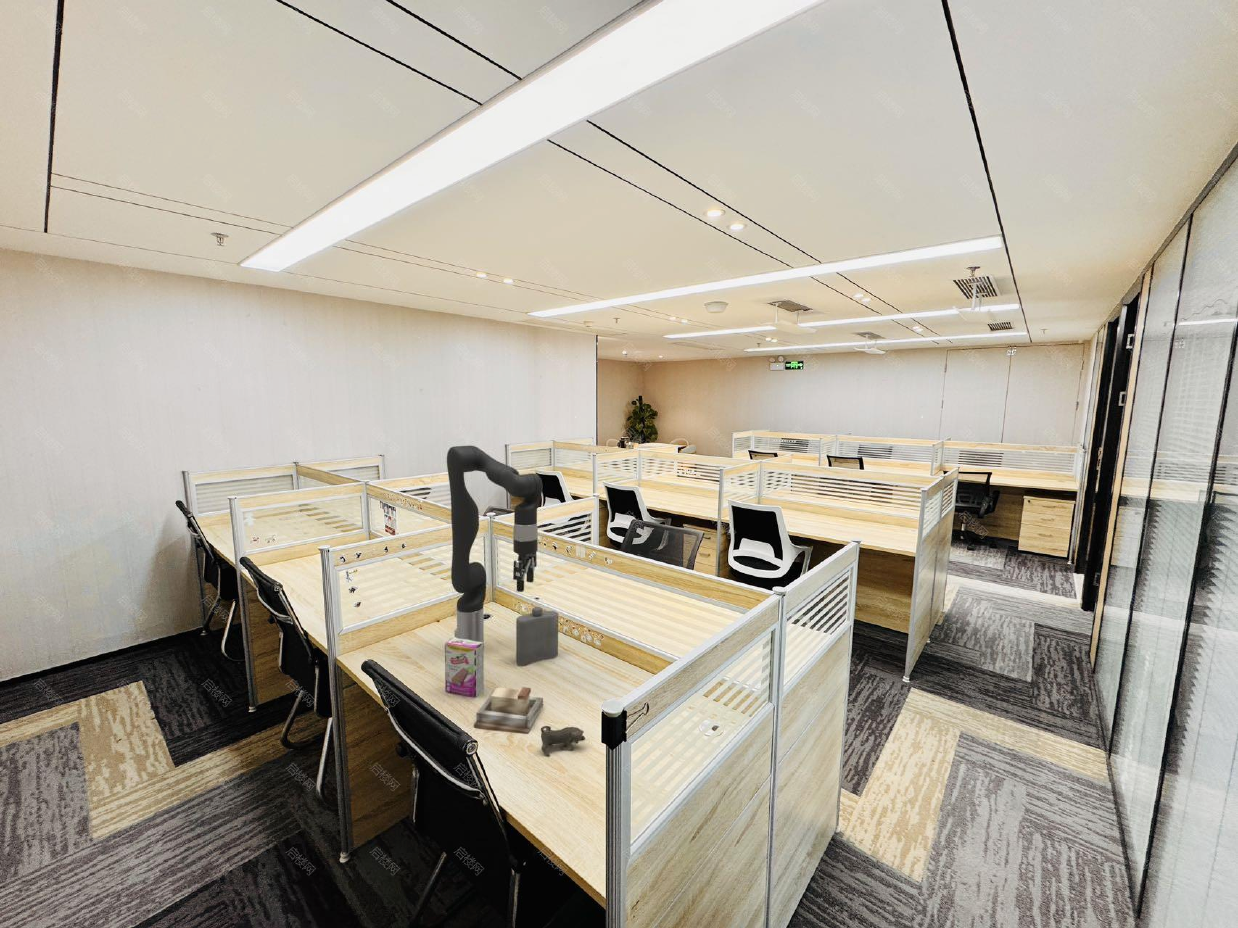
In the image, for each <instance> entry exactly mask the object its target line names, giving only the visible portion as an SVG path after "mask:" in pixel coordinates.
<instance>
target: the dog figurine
mask: <svg viewBox="0 0 1238 928" xmlns="http://www.w3.org/2000/svg"><path fill="white" fill-rule="evenodd" d="M540 732H541V734H540V739H541V744H542V745H541V751H542V752H543V754H544V755H545V756H546V757H547V758H549V757H551V754H550V753H549V752H548V747H549V746H551V745H552V746H553V745H560V744H561V745H562V744H563V746H561V747H560V749H561V750H562V751H564V752H565V751H566V752H573V751H574V749H575V748H574V746H573V744H572V742H573V743H575V744H577V745H578V744H579V741H580V740H585V739H586V737H585V736H584V735H583V734H584V730H583V729H580V728H578V727H576V726H567V727H563V728H562V729H557V730H553V729H552V727H551V725H550V726H549V725H544V726H542V727H541V728H540Z"/></svg>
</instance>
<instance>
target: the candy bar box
mask: <svg viewBox="0 0 1238 928" xmlns="http://www.w3.org/2000/svg"><path fill="white" fill-rule="evenodd" d="M484 648H485V645H484V643H483V642H478V641H473V640H467V639H462V638H457V637H455V636H453V637H451V638H450V639H449V640H447V641H446V642H445V643H444V672H445V675H444V676H445V679H444V682H445V687H444V688H445V692H446V693H452V694H456V695H462V696H465V697H471V698H477V697H478V696H479V695H480V694H481V693H482V692H483V691H484V689H485V688H484V687H485V685H484V680H485V679H484V670H485V669H484V664H485V663H484V659H485V658H484V654H485V653H484V652H485V651H484Z"/></svg>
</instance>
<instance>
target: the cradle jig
mask: <svg viewBox="0 0 1238 928" xmlns="http://www.w3.org/2000/svg"><path fill="white" fill-rule="evenodd" d="M493 693H494V691H492V692H491V693H490V694H489V695H488V697H487V698H486V700H484V702H483V703H482V704H481V706H480V708H479V709H478V710H477V711H476V717H475V718H476V719H475V720H476V721H475V722H474V723H473V728H475V729H476V728H477V729H482V730H490V731H497V732H508V733H517V734H526V735H529V733H530V731H531V729H532V727H533V726H534V723H535V722H536V720H537V718H538V716H539V714H540V713H541V710H542V708H543V707H544V698H543V697H538V696H530V695H529V712H528V714H527V716H521V715H514V714H507V713H500V712H493V711H491V695H492V694H493Z"/></svg>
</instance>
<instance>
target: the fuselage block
mask: <svg viewBox="0 0 1238 928" xmlns="http://www.w3.org/2000/svg"><path fill="white" fill-rule="evenodd" d="M531 689H532V688H531V687H525V686H523V687H522V688H521V689H513V688H512V689H511V688H504V687H496V688H495V690H493V692H494V693H493V694H492V695H491V711H493V712H500V713H507V714H514V715H521V716H527V714H528V712H529V696H530V694H531V693H532V692H531V691H532V690H531Z"/></svg>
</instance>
